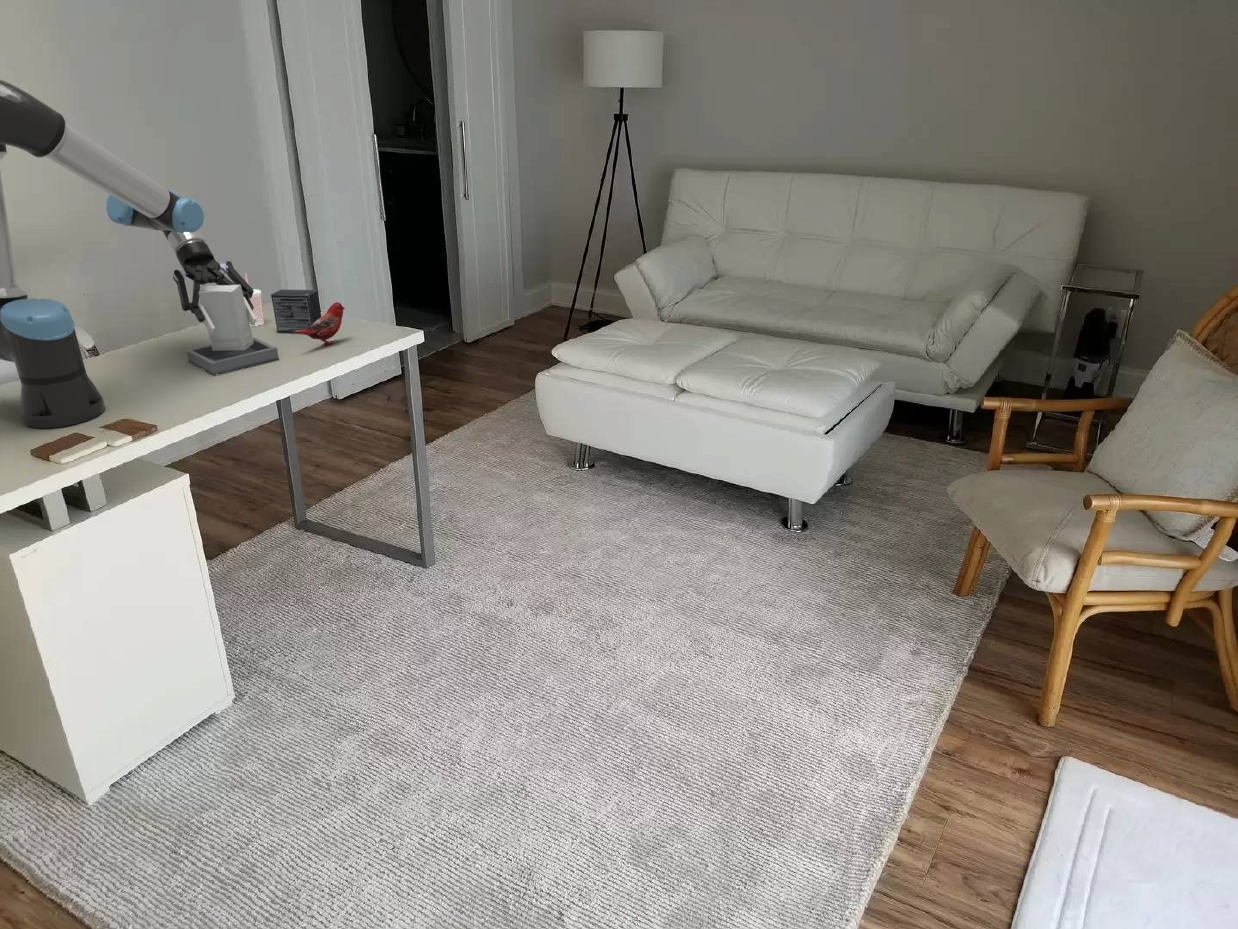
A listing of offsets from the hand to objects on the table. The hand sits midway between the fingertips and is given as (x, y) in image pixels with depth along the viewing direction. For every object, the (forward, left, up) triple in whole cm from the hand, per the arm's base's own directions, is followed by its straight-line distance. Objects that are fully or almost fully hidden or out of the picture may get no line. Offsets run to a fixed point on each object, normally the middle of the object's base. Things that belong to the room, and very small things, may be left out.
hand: (233, 326), depth 212 cm
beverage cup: (+18, +29, -9) cm, 35 cm away
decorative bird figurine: (+20, -2, -9) cm, 23 cm away
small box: (+24, +15, -9) cm, 30 cm away
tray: (0, +3, -9) cm, 10 cm away
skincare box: (0, +3, -6) cm, 7 cm away
